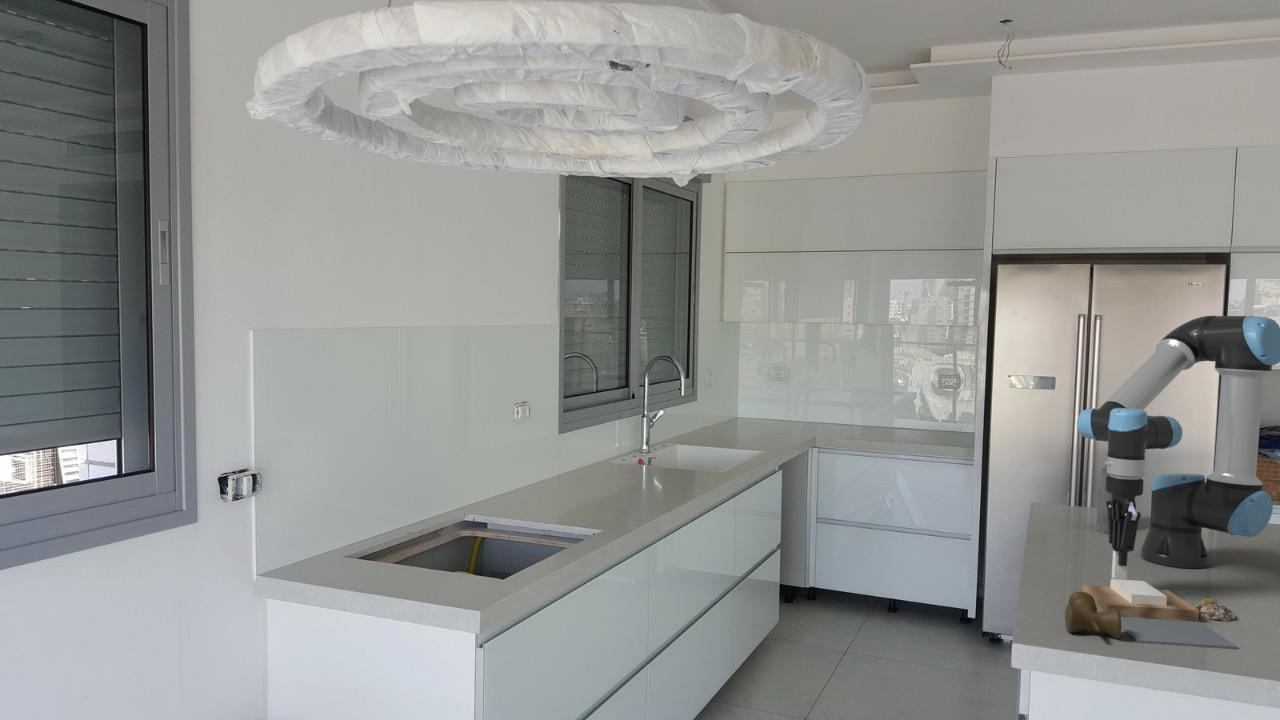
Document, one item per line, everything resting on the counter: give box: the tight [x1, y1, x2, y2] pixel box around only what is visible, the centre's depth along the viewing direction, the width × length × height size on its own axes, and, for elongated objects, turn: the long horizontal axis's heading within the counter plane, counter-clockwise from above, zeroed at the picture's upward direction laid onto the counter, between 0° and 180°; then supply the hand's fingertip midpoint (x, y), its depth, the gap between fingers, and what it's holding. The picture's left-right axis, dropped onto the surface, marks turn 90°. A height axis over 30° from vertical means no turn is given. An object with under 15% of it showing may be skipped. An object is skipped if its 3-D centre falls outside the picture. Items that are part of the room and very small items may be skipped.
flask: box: [1096, 464, 1113, 534], centre depth 266 cm, size 15×6×20 cm, turn 150°
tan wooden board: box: [1082, 584, 1200, 622], centre depth 191 cm, size 18×14×2 cm
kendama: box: [1064, 591, 1122, 640], centre depth 178 cm, size 6×10×20 cm
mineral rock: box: [1192, 597, 1237, 622], centre depth 189 cm, size 11×4×8 cm
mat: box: [1121, 617, 1238, 650], centre depth 177 cm, size 18×14×1 cm
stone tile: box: [1109, 578, 1167, 606], centre depth 192 cm, size 7×11×2 cm, turn 173°
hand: (1119, 578), depth 201 cm, fingers closed
